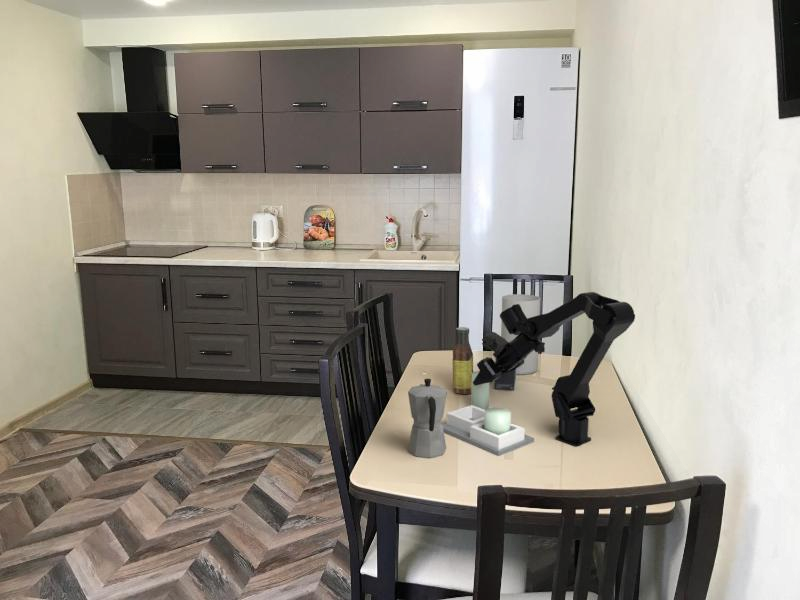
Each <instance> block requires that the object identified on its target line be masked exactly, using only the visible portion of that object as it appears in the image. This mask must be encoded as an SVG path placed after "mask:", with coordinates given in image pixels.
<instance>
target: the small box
mask: <svg viewBox="0 0 800 600" xmlns="http://www.w3.org/2000/svg"><path fill="white" fill-rule="evenodd" d="M494 359H495V361H494V362H495V363H497V360H496V359H497V358H495V357H494ZM516 376H517V374H516V369H515V370H513V371H510V372H507V373H503V374H501V376H500V377H499V378H498V379H496V380H495V381H493V382H494V386H493V390H503V391H514V390H515V387H516V386H515V385H516V379H517V378H516Z"/></svg>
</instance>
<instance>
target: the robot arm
mask: <svg viewBox="0 0 800 600" xmlns="http://www.w3.org/2000/svg"><path fill="white" fill-rule="evenodd" d="M583 314H585V315H586V316H587V318H588V319H590V320H592V329H593V331H592V335H591V336H590V338H589V340H588V342H587V344H586V345H585V347H584V349H583V350H582V352H581V355H580V356H579V358H578V359H577V361H576V364H575V365H574V367H573V369H572V371H571V372H570V374H567V375H564V376H558V378H557V379H556V382H555V385H553V387H552V388H551V390H552V393H551V400H552V404H553V405H552V406H553V410H554V415H555V417H556V418H558V425H557V426H558V430H557V431H558V432H557V433H558V435H556V436H555V440H558V441H560V442H564V443H566V444H568V445H571V446H573V447H579V446H580V445H584V444H586V443H588V442H590V441H592V437H590V436H589V422H590V421H589V419H590V418H589V417H593V416H594V414H595V412H596V407H595V406H594V404H593V402H592V401H591V399H590V397H589V396H590V393H591V392H590V391H591V390H590V382H591V381H592V379H593V378H594V377H593V376H594V375H595V373H596V372H597V370H598V369H599V366H600V365H601V363H602V362H603V360H604V358H605V356H606V354H607V353H608V351H609V349H610V348H611V346H612V344H613V342H614V341H615V340H616V339H617V338H618V337H619V336H621V335H623V334H624V333H625V332H627V331H628V329H629V328H630V327H631V326H632V325H633V323H634V322H635V319H636V314H635V311H634V309H633V307H632V305H631V304H630V303H628V302H626V301H621V300H617V299H614V298H611V297H607V296H604V295H601V294H599V293H598V292H595V291H589V292H582V293H579V294H577V296H575V297H574V298H572V299H570V300H568V301H567V302H565V303H563V304H561V305H560V306H558V307H556V308H554V309H552V310H551V311H549V312H547V313H544V314H543V313H542V314H540V315H538V316H534V317H531V318H528V319H527V318H526V316H525V314H524V313H523V311H522V309H521V306H520V305H519V304H515V305H513V306H512V307H510V308H508V309H506V310H505V311H503V312H502V311H501V313H500V314H499V318H500V319H501V322H502V321H503V323H504V325H505V327H506V329H507V330H508V332H509V334H514V335H518V336H517V337H515V338H514V339H513V340H512V341H510V342H507V341H506V340H505V339H504V338H503V337H501V334H498V333H497V332H495V331H491V332H489V333H486V335H485V336H484V337H482V339H481V341H482V343H481V344H482V346H484V348H486V349H488V350H490V351H491V352H493V353H492V356H493V357H494V359H495V358H497V359H496V360H497V363H495V361H494V359H493V358H492V357H488V356H487V357H485V358H483V359H481V360H479V362H477V364H476V366H477V368H478V370H479V373H478V375H477V376H476V378H475V380H474V381H473V384H474V385H475V386H476V385H480V384H484V383H489V384H490V383H493V382H495V380H496V379H498V378H499V377H500V376H501V374H503V373H507V372H510V371H513V370H515V369H517V368H519V367H520V366H521V365H523V364H524V359H525V358H526V357H527V355H529V354H530V353H531V352H532V351H534V350H535V352H538V353H545V351H546V350H545V349H546V347H545V344H546V343H545V342H544V341H543V342H542V341H541V339H545V338H550V337H552V336H554V335H555V334H556V333H557V332H559V330H560V328H561V327H562V326H563V325H564V324H566V323H569V322H570V321H572V320H574V319H576V318H577V317H580V316H582V315H583ZM517 364H518V365H517Z"/></svg>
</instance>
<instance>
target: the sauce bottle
mask: <svg viewBox="0 0 800 600" xmlns="http://www.w3.org/2000/svg"><path fill="white" fill-rule="evenodd" d="M455 334H456V340H455V342H456V343H455V346H454V347H453V349H452V390H453V392H454V393H455V394H457V395H469V394H470V395H471V386H472V373H473V372H474V353H473V350H472V347H471V343H470V340H469V339H470V338H469V337H470V328H469V327H466V326H464V327H463V326H460V327H456V328H455Z"/></svg>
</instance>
